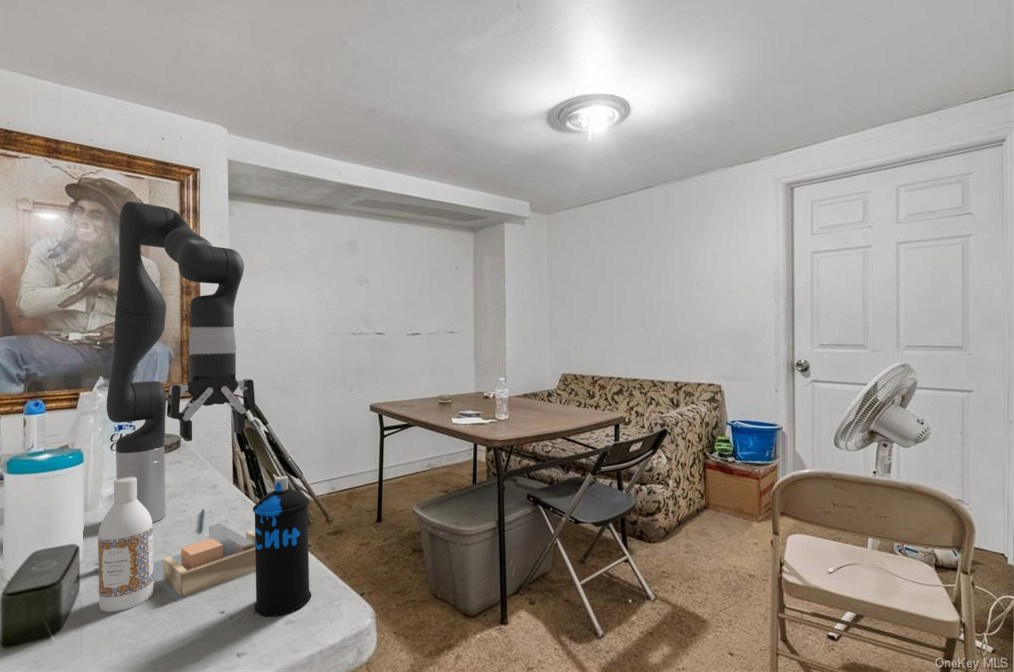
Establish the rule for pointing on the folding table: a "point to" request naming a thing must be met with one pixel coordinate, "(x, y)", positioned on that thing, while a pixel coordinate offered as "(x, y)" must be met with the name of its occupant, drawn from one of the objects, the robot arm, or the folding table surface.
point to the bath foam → (125, 551)
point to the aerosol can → (281, 551)
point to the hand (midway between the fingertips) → (213, 436)
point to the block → (201, 553)
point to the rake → (229, 540)
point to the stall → (209, 571)
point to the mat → (159, 579)
